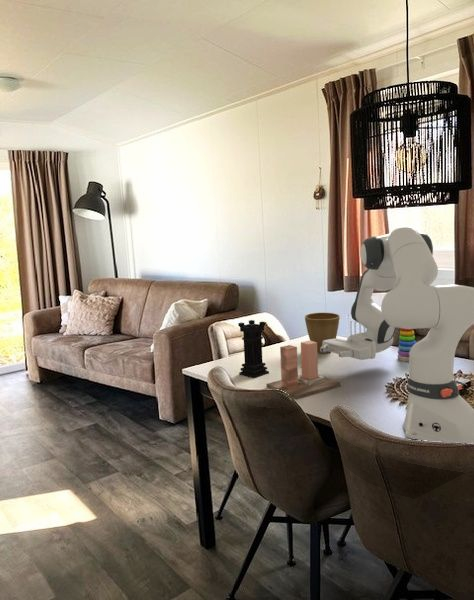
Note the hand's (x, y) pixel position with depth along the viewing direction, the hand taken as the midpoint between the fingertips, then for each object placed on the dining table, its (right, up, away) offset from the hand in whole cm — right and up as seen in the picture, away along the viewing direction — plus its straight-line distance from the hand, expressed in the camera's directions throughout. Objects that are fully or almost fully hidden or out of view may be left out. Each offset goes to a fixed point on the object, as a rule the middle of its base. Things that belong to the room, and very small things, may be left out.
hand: (330, 352), depth 188 cm
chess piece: (-27, -10, +12) cm, 31 cm away
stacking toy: (+35, -5, +21) cm, 41 cm away
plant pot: (+4, -4, +39) cm, 39 cm away
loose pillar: (-8, -10, -5) cm, 13 cm away
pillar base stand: (-11, -11, -6) cm, 17 cm away
